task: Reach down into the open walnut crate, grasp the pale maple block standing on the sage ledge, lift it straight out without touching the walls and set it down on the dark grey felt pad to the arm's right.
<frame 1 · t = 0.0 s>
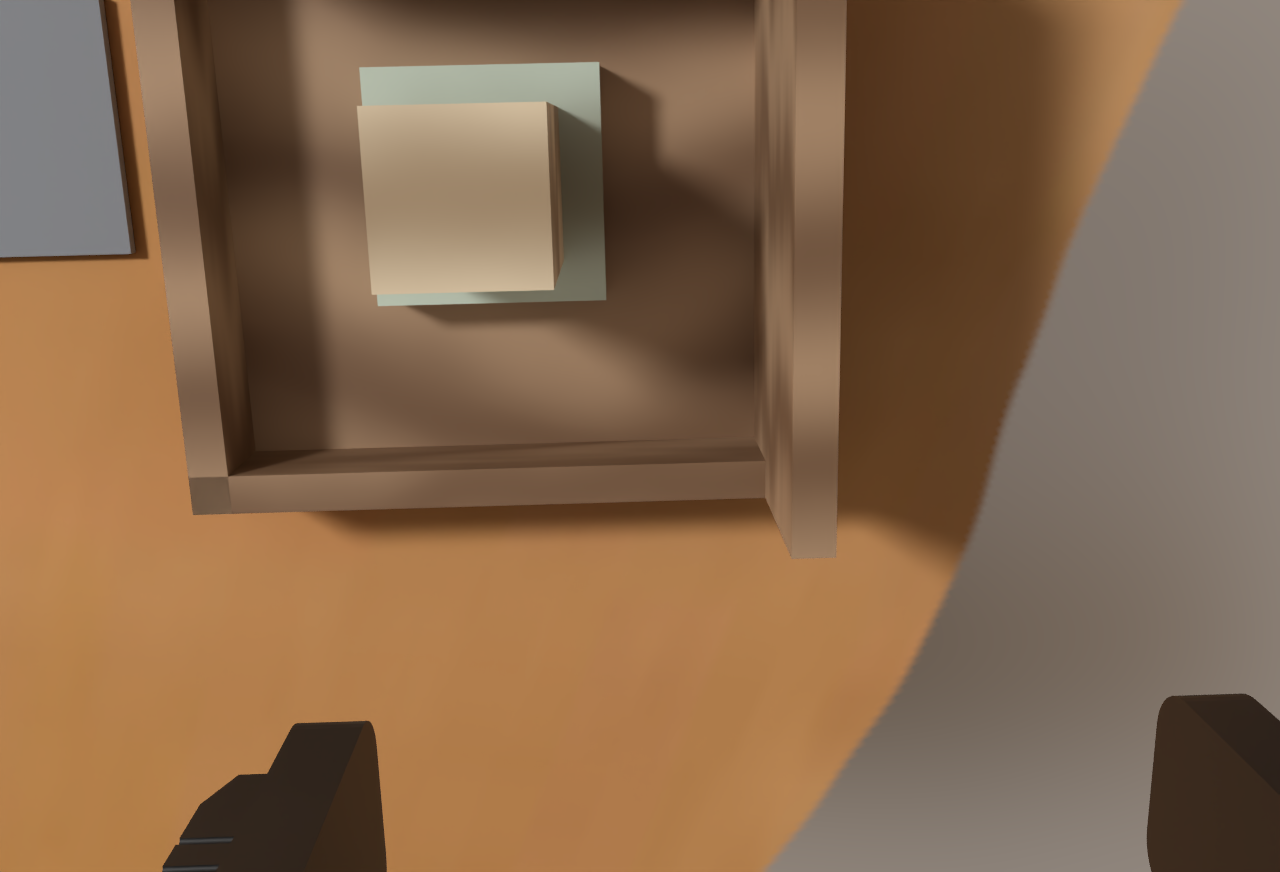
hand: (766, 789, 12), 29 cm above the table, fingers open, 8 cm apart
maple block: (485, 186, 36), point 3 cm above the table, touching crate
crate: (496, 182, 39), on the table
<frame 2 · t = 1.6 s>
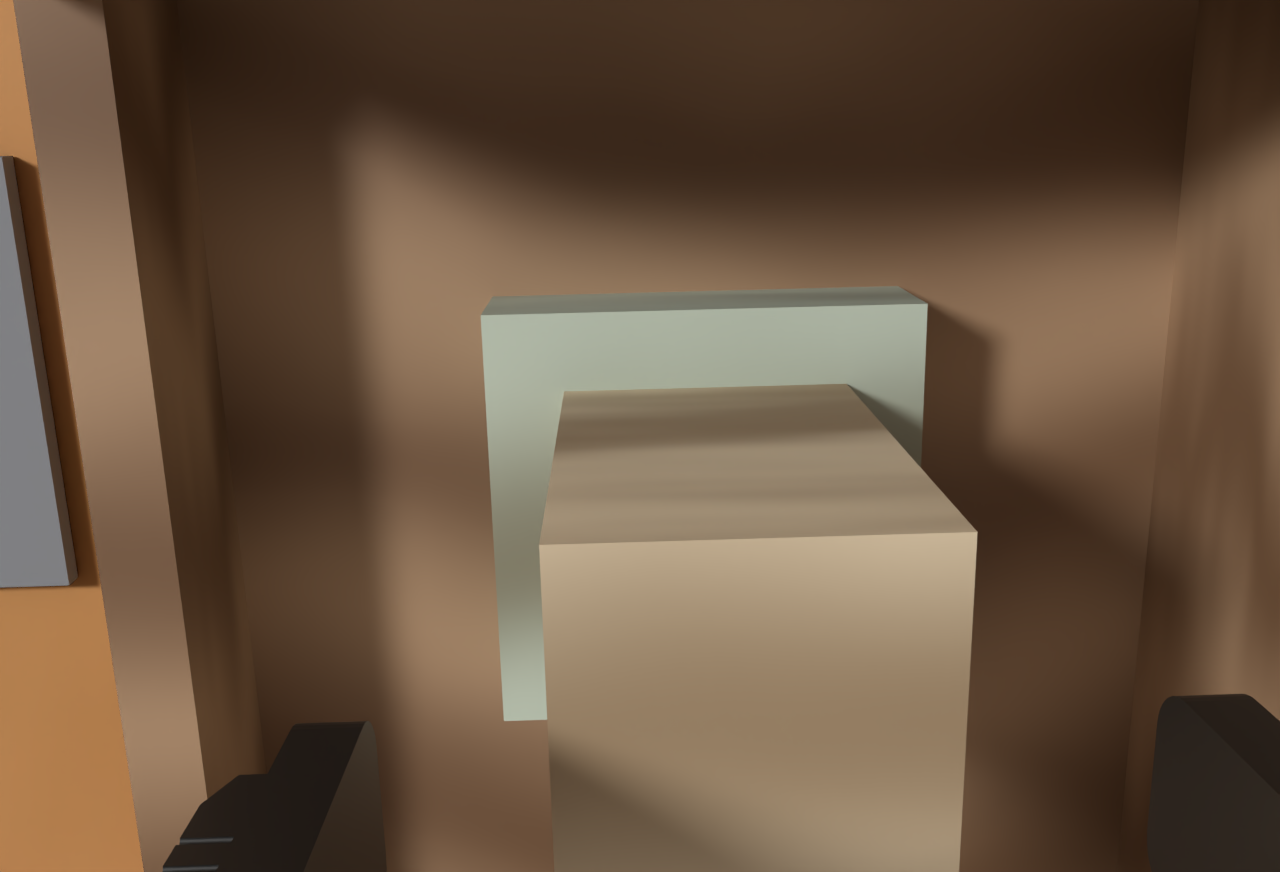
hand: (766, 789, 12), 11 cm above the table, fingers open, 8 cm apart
maple block: (706, 521, 20), point 3 cm above the table, touching crate
crate: (692, 461, 23), on the table
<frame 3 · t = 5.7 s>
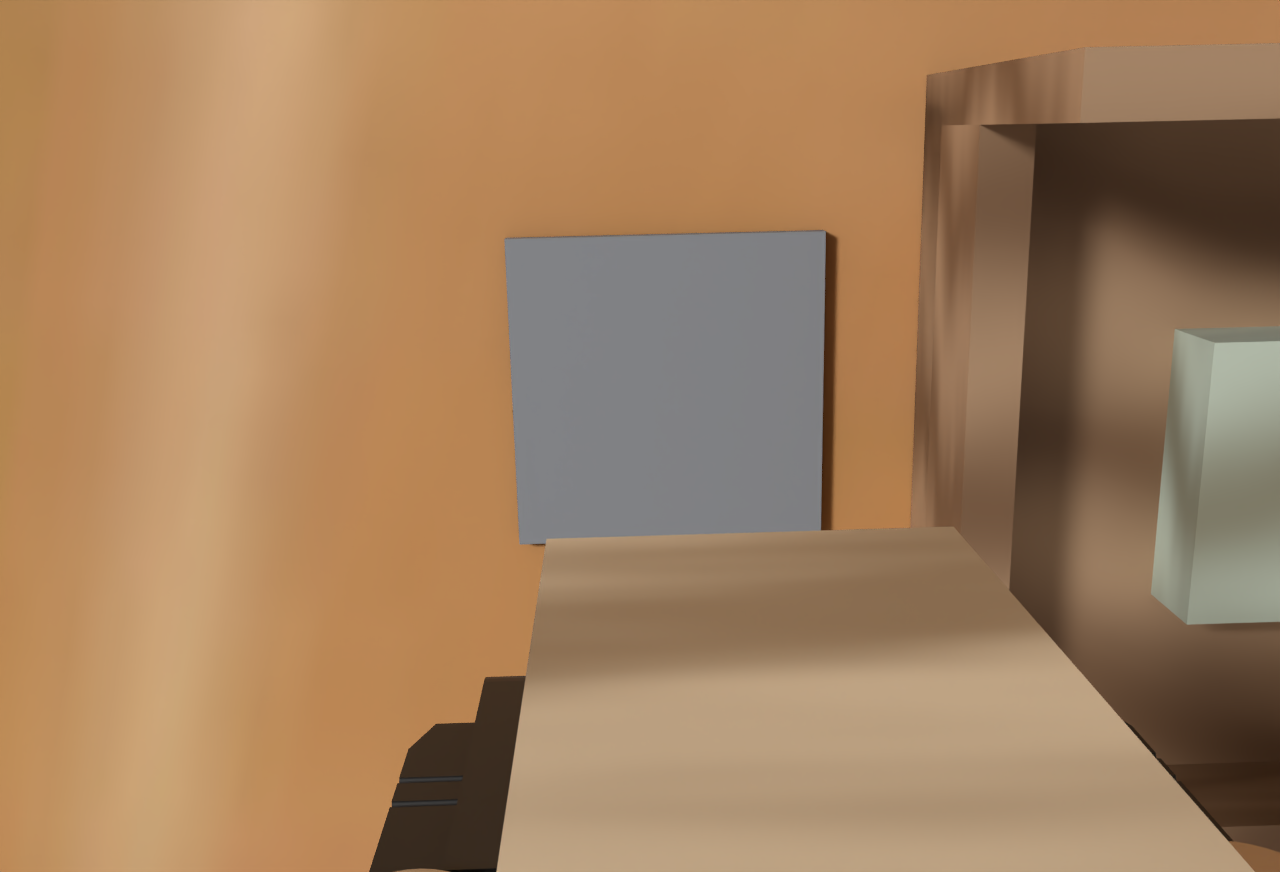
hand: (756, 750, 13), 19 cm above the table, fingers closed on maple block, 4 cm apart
maple block: (750, 718, 14), point 18 cm above the table, touching gripper
felt pad: (667, 389, 31), on the table
crate: (1266, 446, 32), on the table
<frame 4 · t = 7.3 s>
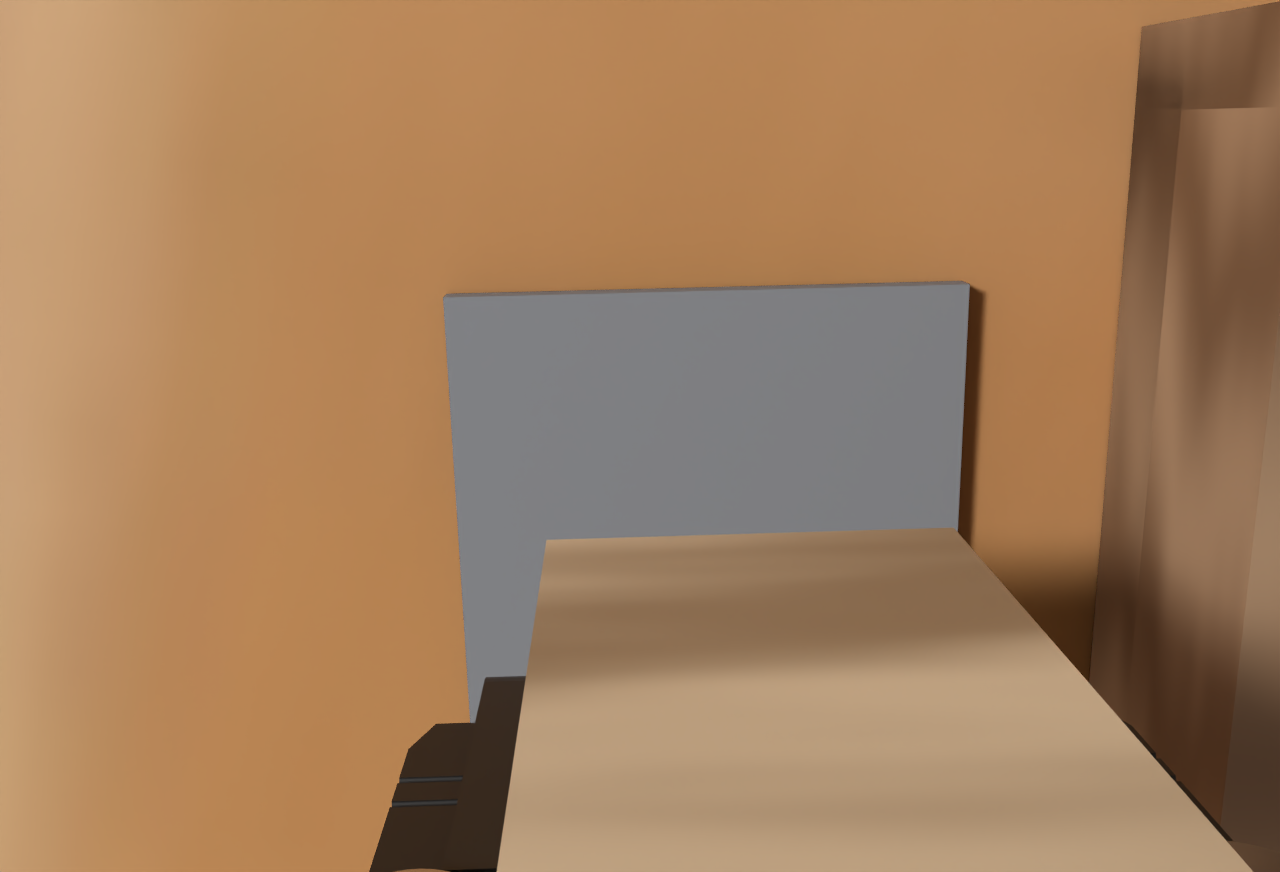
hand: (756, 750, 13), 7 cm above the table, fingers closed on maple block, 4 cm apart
maple block: (750, 719, 14), point 6 cm above the table, touching gripper
felt pad: (707, 531, 19), on the table
when the fingers open (3 cm above the table, at t = 8.4 s): maple block drops 2 cm, resting on felt pad.
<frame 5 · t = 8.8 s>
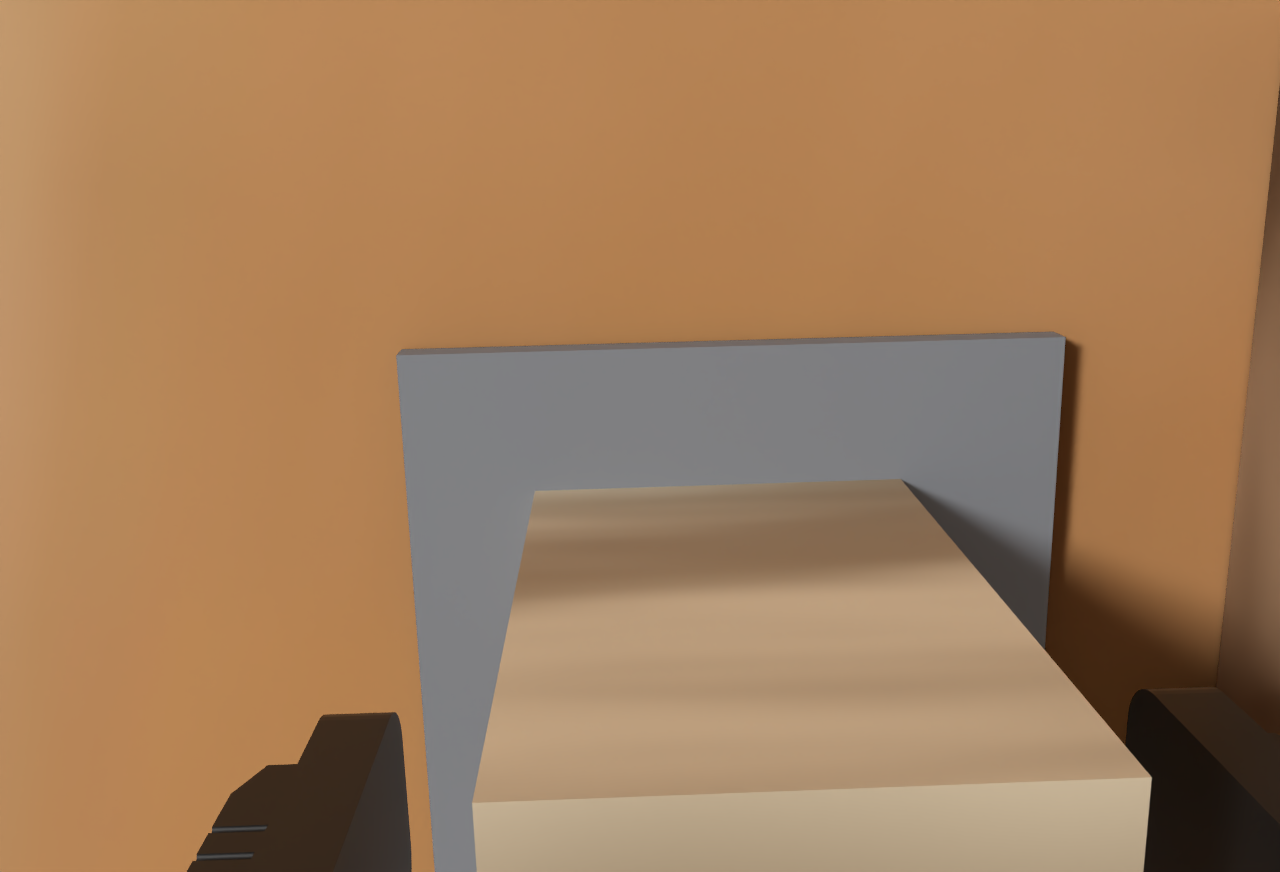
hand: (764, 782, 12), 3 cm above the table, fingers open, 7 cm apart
maple block: (720, 653, 15), resting on felt pad
felt pad: (730, 642, 16), on the table
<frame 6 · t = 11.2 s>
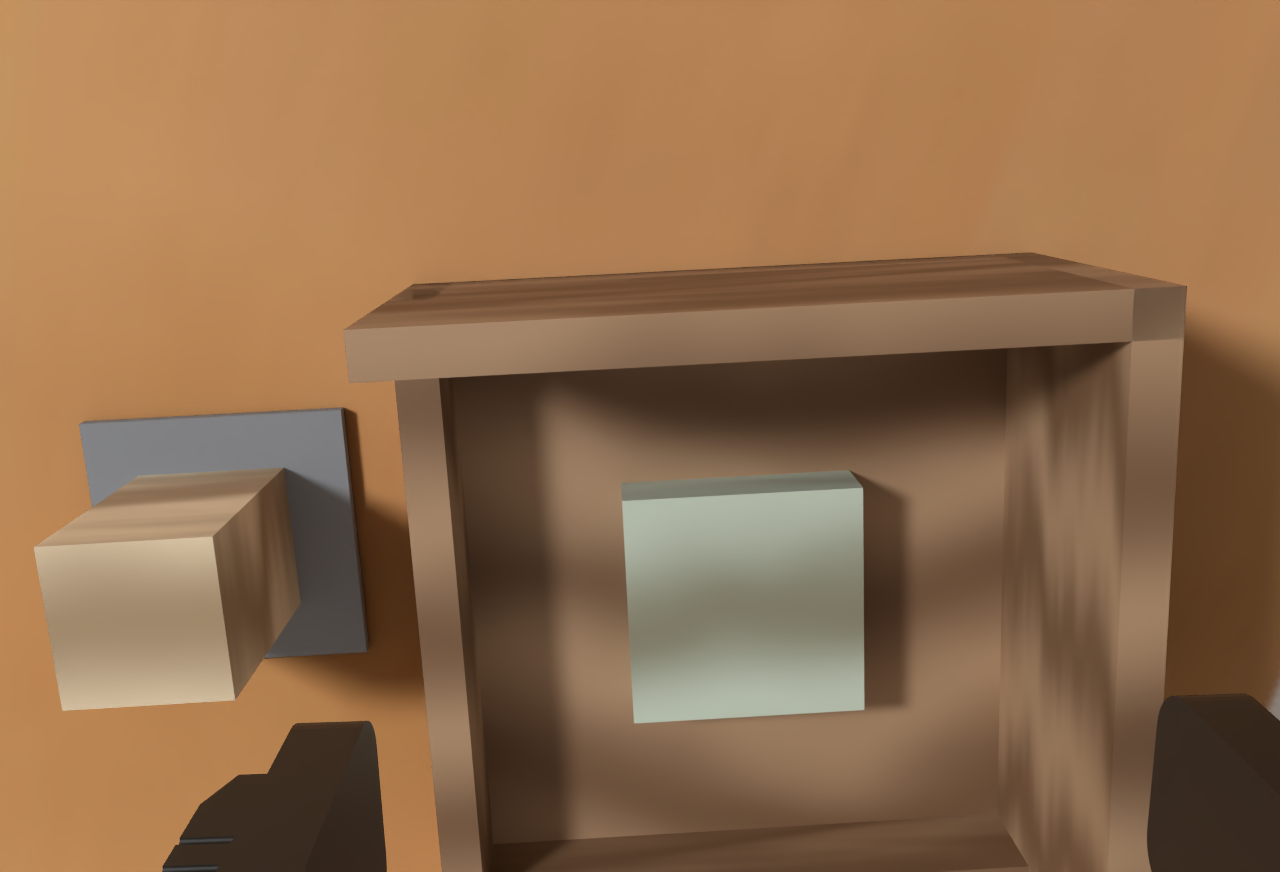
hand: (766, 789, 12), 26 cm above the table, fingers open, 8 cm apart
maple block: (220, 540, 38), resting on felt pad
felt pad: (230, 537, 38), on the table
crate: (733, 568, 39), on the table
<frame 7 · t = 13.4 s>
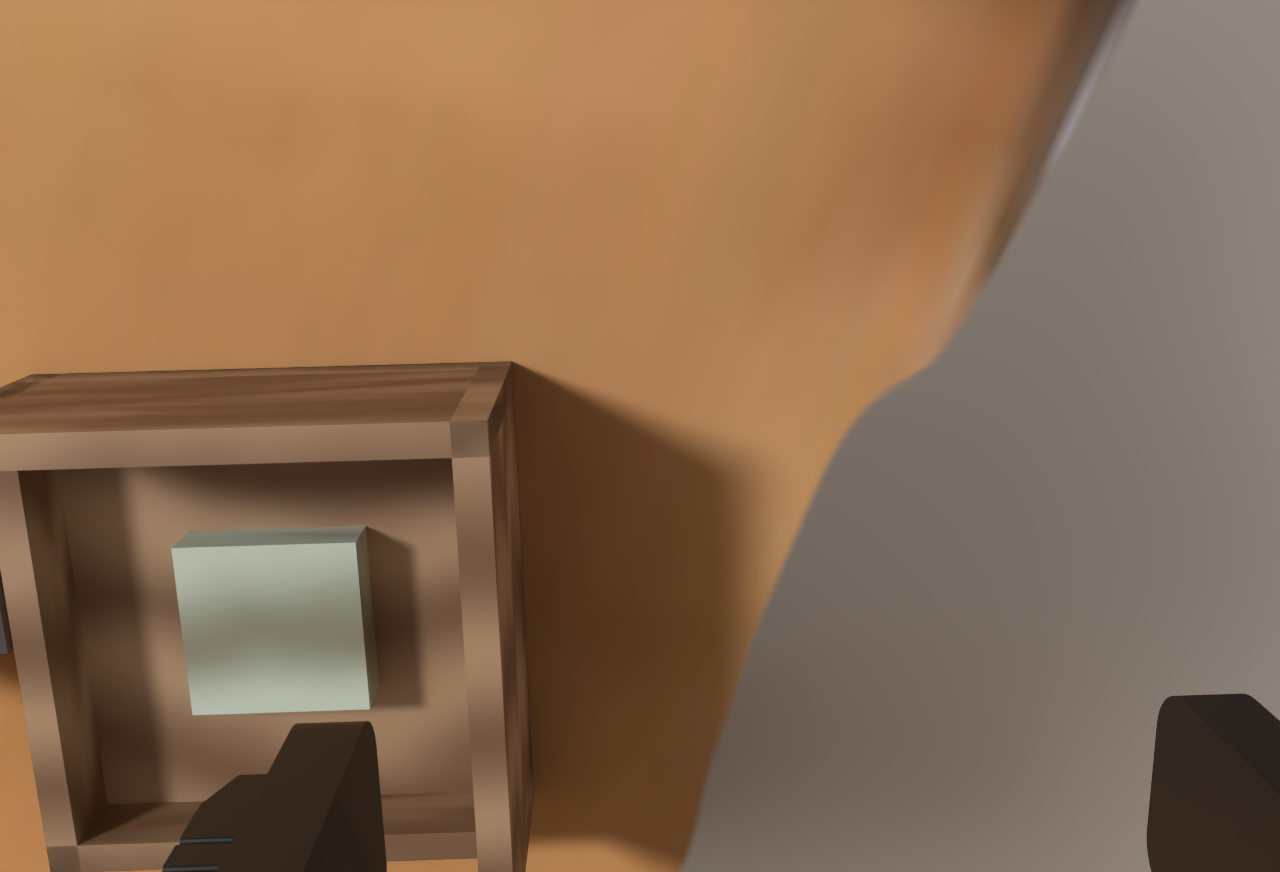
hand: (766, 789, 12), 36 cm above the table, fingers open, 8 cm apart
crate: (295, 596, 50), on the table
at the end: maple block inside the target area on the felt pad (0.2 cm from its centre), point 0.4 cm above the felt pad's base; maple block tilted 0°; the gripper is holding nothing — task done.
